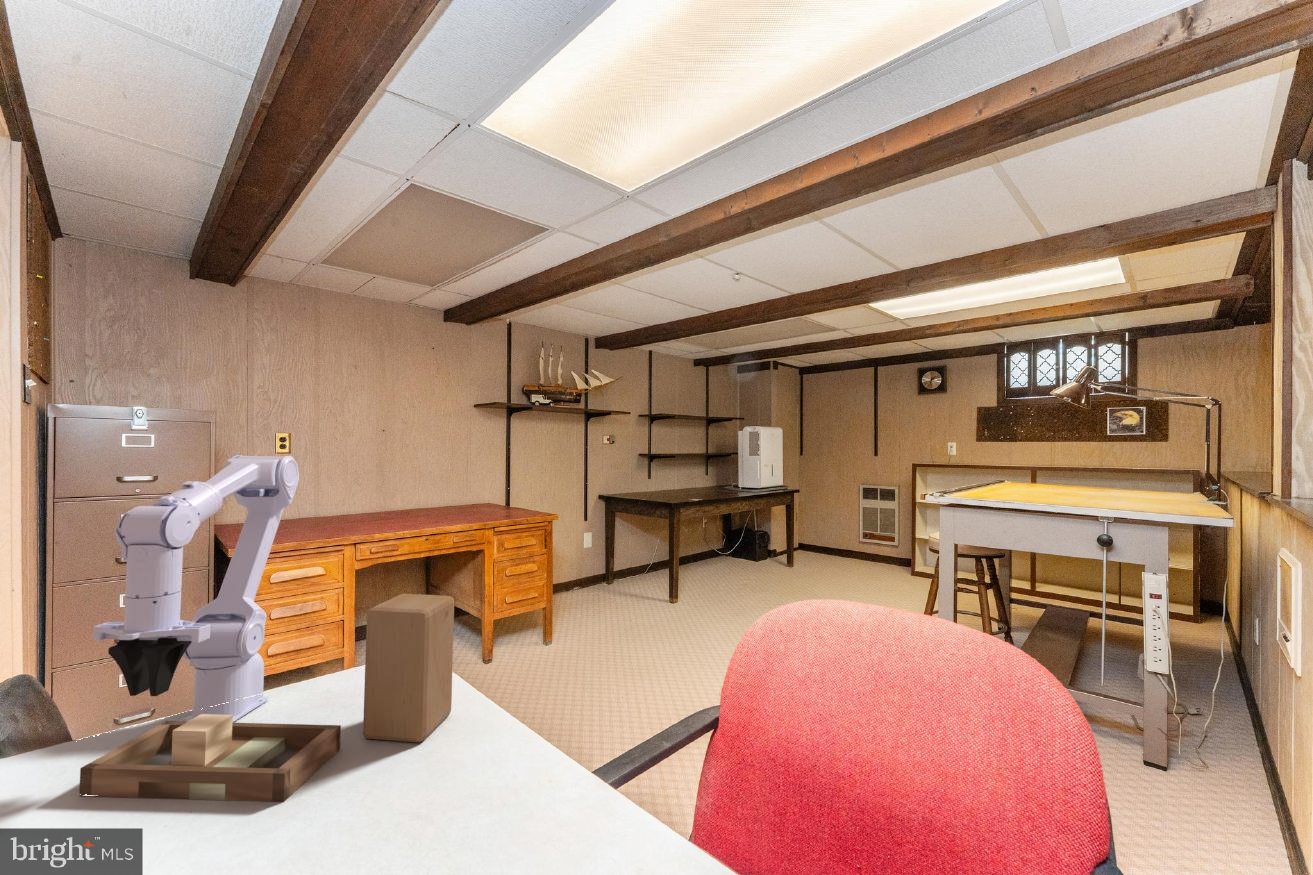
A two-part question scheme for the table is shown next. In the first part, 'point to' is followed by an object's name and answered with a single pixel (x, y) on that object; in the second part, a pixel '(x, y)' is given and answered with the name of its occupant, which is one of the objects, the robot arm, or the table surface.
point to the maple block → (201, 739)
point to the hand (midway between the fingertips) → (149, 692)
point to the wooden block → (408, 667)
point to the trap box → (215, 764)
